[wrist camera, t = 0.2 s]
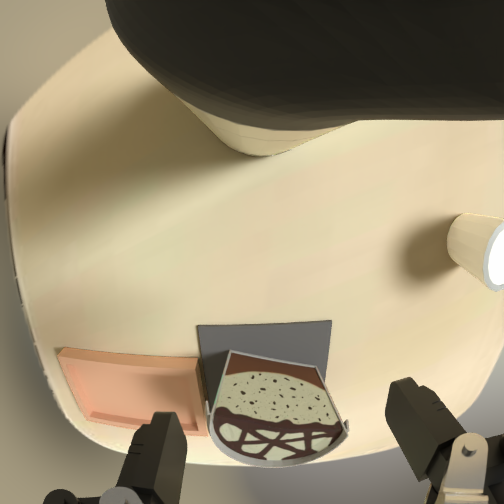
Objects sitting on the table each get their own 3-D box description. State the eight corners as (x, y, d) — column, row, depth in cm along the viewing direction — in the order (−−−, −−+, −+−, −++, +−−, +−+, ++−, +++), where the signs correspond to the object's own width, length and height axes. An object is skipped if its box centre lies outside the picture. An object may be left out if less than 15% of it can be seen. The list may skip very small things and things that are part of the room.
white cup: (436, 267, 27) (475, 292, 20) (448, 202, 25) (492, 214, 18) (477, 269, 27) (515, 291, 20) (488, 211, 25) (530, 224, 19)
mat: (198, 325, 28) (197, 326, 28) (331, 320, 28) (332, 321, 28) (212, 420, 32) (212, 421, 32) (318, 415, 32) (318, 417, 32)
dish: (64, 347, 29) (56, 355, 27) (197, 357, 29) (195, 369, 27) (91, 410, 32) (86, 420, 30) (209, 424, 32) (208, 436, 30)
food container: (204, 388, 30) (191, 459, 21) (215, 346, 29) (202, 418, 19) (308, 406, 31) (323, 473, 22) (329, 367, 30) (353, 436, 20)
